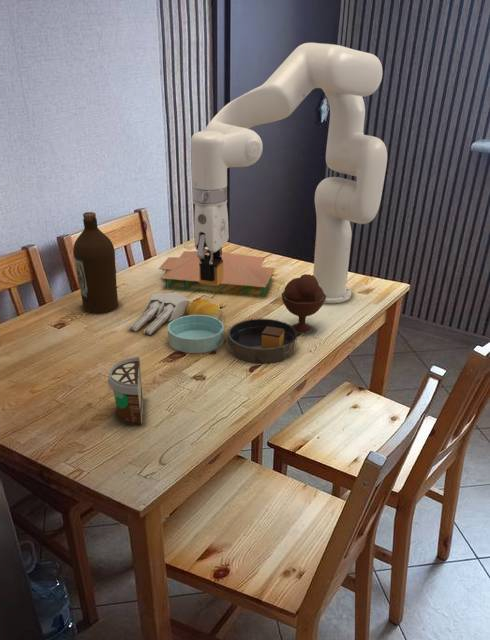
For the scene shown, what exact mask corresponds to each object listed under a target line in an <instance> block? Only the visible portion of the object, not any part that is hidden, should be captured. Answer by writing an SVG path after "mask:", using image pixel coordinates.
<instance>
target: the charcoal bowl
mask: <svg viewBox="0 0 490 640" xmlns="http://www.w3.org/2000/svg"><path fill="white" fill-rule="evenodd" d="M267 326H269V327H276V328H282V329H284V345H283V346H280V347H276V348H267V349H263V348H261V344H262V332H263V331H264V329H265V328H266V327H267ZM292 326H293V325H290V324H288V323H287V322H285V321H281V320H277V319H271V318H252V319H246V320H242V321H240V322H237V323H235V324H233V325H232V326H230V328H229V329H228V330H227V349H228V352H229V354H231V356H232V357H235V358H236V359H238V360H240V361H243V362H246V363H251V364H261V365H262V364H264V365H266V364H275V363H279V362H284V361H286V360H289V359H290V358H292V357H293V356H294V355H295V353H296V352H297V347H298V346H297V345H298V332H296V330H295V329H294V328H293V327H292Z"/></svg>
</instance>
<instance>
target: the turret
mask: <svg viewBox="0 0 490 640" xmlns="http://www.w3.org/2000/svg"><path fill="white" fill-rule="evenodd" d="M146 304H147V305H145V308H144V310H143V312H142V315H141V316H140V317H139V318H137V320H136V321H134V322H133V324H131V325H130V327H129V328H128V330H129V331H134V332H137V331H139V330H140V329H141V328H142V327H144V325H145V324H146V323H147V322H149V321H152V320H153V321H152V322H151V323H150V324H149V325H148V326H147V327H146V328H145V329H144V331H143V335H144V334H146V335H148V336H151V335H153V334H154V332H155V331H156V330H157V329H158V328H160V327H161V325H163V324H166V323H167V322H171V321H173V320H175V319H176V318H179V317H183V316H184V314H185V312H187V309H188V307H189V305H190V304H191V300H190V299H188V298H187V297H186V296H185V295H183V294H181V292H165V293H152V294H151V295H150V298H149V300H148V302H147V303H146Z"/></svg>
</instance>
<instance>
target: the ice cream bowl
mask: <svg viewBox="0 0 490 640" xmlns="http://www.w3.org/2000/svg"><path fill="white" fill-rule="evenodd" d="M280 294H281V295H280V296H281V300H282V303H283V305H284V306H285V308H286V310H287V311H288V312H289V313H290V314H292V315H294V316H297V317H298V321H297V322H298V323H295V324H293V325H291V326H292V327H293V328H294V329H295V330H296V332H297V334H298V333H299V334H305V333H309V332H311V331H312V330H313V328H312V326H311V325H310V324H308V323H306V320H307V319H306V318H307V317H310V316H312V315H315V314H316V313H317V312H319V310H320V309H321V308H322V307H323V306H324V304H325V303H324V302H325V299H326V295H325V294H324V292H323V290H322V288H321V287H320V286H319V284H318V281H317V279H316V278H315V277H314V276H313V274H310V273H307V274H306V273H305V274H302V275H300V276H299V277H296V278H292V279H291V280H290V281H289V282H288V283H287V284H286V285H285V287H284V290H283V292H282V293H280Z"/></svg>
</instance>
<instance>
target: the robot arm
mask: <svg viewBox="0 0 490 640" xmlns="http://www.w3.org/2000/svg"><path fill="white" fill-rule="evenodd" d="M383 72H384V71H383V66H382V63H381V61H380V59H379V57H377V56H376V55H375V54H373V53H370V52H365V51H361V50H357V49H353V48H350V47H347V46H343V45H338V44H333V43H322V42H321V43H320V42H305V43H302V44H300V45H298V46H297V47H295V48H294V49H293V51H292V52H291V53H290V54H289V55H288V56H287V57H286V59H285V60H284V61H283V62H282V63H281V64H280V65H279V66H278V67H277V69H275V71H274V72H273V73H272V74H271V75H270V76H269V77H268V78H267V80H266V81H265V82H264V83H262V84H261V85H260V86H257V87H255V88H253V89H251V90H249V91H247V92H245V93H243V94H242V95H240V96H238V97H237V98H234V99H232V100H231V101H230V102H228V103H226V104H225V105H224V106H223V107H222V108H221V109H220V110H219V111H218V112H217V114H215V115H214V116H213V118H211V120H210V121H209V123H208V124H207V125H206V126H205V128H204V130H201V131H197V132H195V133H193V134H192V136H191V137H190V161H191V162H190V163H191V165H190V166H191V193H192V196H191V197H192V203H193V204H194V216H193V217H194V218H193V219H194V220H193V221H194V222H193V225H194V226H193V230H194V231H193V233H194V234H193V237H194V238H193V239H194V248H195V251H197V257H198V258H199V259H200V271H201V280H206V281H214V279H215V277H214V264H213V259H221V260H222V257H220V256H222V252H223V247H224V246H225V245H226V244H227V243H228V241H229V239H230V235H229V234H230V233H229V232H230V231H229V212H228V169H229V168H247V167H250V166H252V165H254V164H255V163H256V162H258V161H259V159H260V158H261V156H262V154H263V147H264V146H263V140H262V139H261V137H260V135H259V134H258V133H257V132H255V130H253V129H251V128H253V127H256V126H259V125H264V124H271V123H274V122H278V121H281V120H284V119H286V118H288V117H289V116H291V115H292V114H293V113H294V111H296V109H297V108H298V107H299V105H300V104H301V103H302V102H303V101H304V100H305V99H306V97H308V95H309V94H311V92H312V91H313V90H315V89H321V90H322V92H323V93H324V94H325V96H326V99H327V102H328V106H329V122H328V131H327V141H326V149H325V164H326V166H327V168H329V169H330V170H331V171H334V172H337V173H339V174H344V175H348V176H353V177H356V180H352V179H348V178H344V177H339V176H330V177H326V178H324V179H322V180H321V181H320V182H319V183H318V184H317V186H316V189H315V192H314V207H315V216H316V231H315V243H314V256H313V257H314V259H313V273H312V276H314V277H315V278H316V279H317V281H318V284H319V286H320V287H321V288H322V290H323V292H324V294H325V295H326V299H325V302H324V304H341V303H344V302H347V301H349V300H350V299H351V297H352V290H351V289H350V288H349V287H347V285H348V275H349V266H350V265H349V264H350V255H351V246H352V236H353V233H352V226H351V223H355V224H359V225H367V224H369V223H371V222H372V221H373V220H374V219H375V218H376V216H377V214H378V212H379V209H380V206H381V201H382V197H383V196H382V195H383V190H384V184H385V177H386V171H387V166H388V150H387V146H386V144H385V142H384V141H383V140H382V139H381V138H379V137H377V136H372V135H369V134H365V133H364V129H365V117H366V105H365V100H364V97H369V96H371V95H373V94H374V93H375V92H376V91H377V90H378V89H379V87H380V85H381V83H382V79H383V74H384V73H383ZM205 253H209V255H206V254H205Z"/></svg>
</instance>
